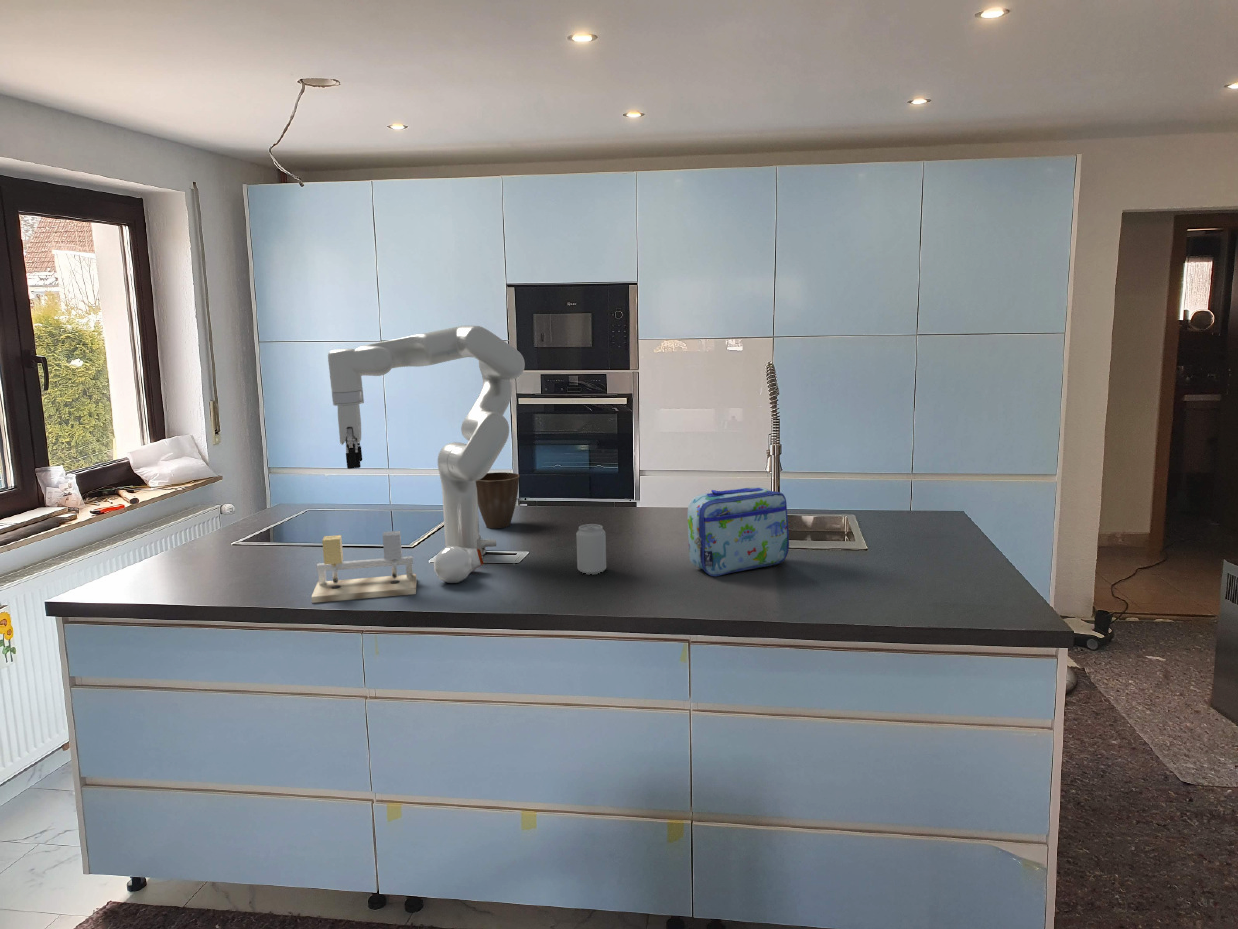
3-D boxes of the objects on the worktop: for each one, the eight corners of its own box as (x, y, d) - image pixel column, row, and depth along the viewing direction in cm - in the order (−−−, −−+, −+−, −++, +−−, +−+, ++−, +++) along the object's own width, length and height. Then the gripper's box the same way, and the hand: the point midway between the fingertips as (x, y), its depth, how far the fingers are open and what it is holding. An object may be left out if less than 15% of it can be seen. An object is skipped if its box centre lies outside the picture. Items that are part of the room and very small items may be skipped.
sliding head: (346, 576, 219) (342, 532, 217) (343, 585, 213) (339, 539, 211) (329, 578, 219) (325, 533, 217) (326, 586, 212) (322, 540, 210)
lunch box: (702, 580, 218) (701, 497, 214) (683, 569, 228) (682, 489, 224) (792, 567, 227) (793, 487, 224) (771, 556, 237) (771, 480, 233)
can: (581, 576, 223) (579, 530, 221) (574, 568, 230) (573, 524, 228) (609, 573, 225) (608, 528, 223) (602, 565, 232) (601, 521, 230)
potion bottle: (438, 593, 217) (468, 582, 231) (466, 573, 214) (495, 563, 228) (419, 561, 218) (450, 553, 232) (447, 541, 215) (477, 533, 229)
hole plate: (416, 579, 224) (416, 573, 224) (415, 594, 213) (415, 587, 212) (318, 587, 219) (317, 581, 219) (311, 603, 208) (311, 596, 208)
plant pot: (468, 523, 282) (466, 474, 280) (513, 518, 289) (510, 470, 286) (481, 533, 269) (479, 482, 266) (528, 527, 275) (525, 477, 272)
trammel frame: (414, 575, 223) (410, 527, 221) (413, 583, 216) (410, 534, 214) (319, 583, 218) (314, 534, 216) (315, 591, 212) (311, 541, 209)
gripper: (335, 395, 229) (342, 460, 233) (329, 403, 213) (337, 472, 216) (364, 393, 231) (371, 457, 234) (361, 400, 214) (368, 469, 218)
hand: (355, 464), depth 225 cm, fingers open, 9 cm apart
